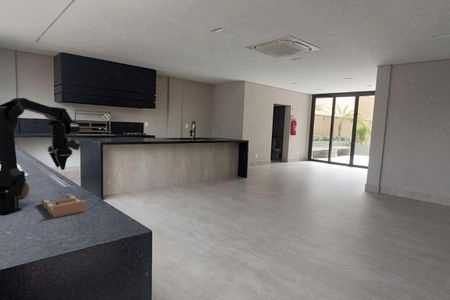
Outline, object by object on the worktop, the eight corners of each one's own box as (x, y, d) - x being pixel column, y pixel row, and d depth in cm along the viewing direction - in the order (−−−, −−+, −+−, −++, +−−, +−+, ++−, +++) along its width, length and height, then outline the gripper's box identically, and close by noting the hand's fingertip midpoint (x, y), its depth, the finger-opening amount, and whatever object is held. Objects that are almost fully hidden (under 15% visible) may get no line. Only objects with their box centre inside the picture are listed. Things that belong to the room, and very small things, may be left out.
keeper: (78, 212, 106) (78, 202, 106) (60, 215, 102) (60, 205, 102) (72, 207, 112) (72, 197, 111) (56, 210, 108) (55, 200, 107)
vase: (33, 195, 127) (32, 177, 126) (21, 200, 120) (19, 180, 119) (19, 195, 127) (18, 176, 126) (6, 199, 120) (5, 179, 120)
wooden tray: (85, 210, 108) (84, 203, 107) (52, 216, 100) (52, 209, 100) (70, 199, 122) (70, 193, 122) (41, 204, 114) (41, 198, 114)
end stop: (86, 211, 107) (86, 201, 106) (53, 217, 99) (53, 206, 99) (85, 210, 108) (84, 200, 107) (52, 216, 100) (52, 205, 100)
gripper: (83, 135, 126) (85, 169, 127) (72, 134, 139) (73, 164, 141) (56, 136, 118) (57, 172, 120) (46, 134, 131) (48, 166, 133)
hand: (60, 168), depth 128 cm, fingers open, 9 cm apart
